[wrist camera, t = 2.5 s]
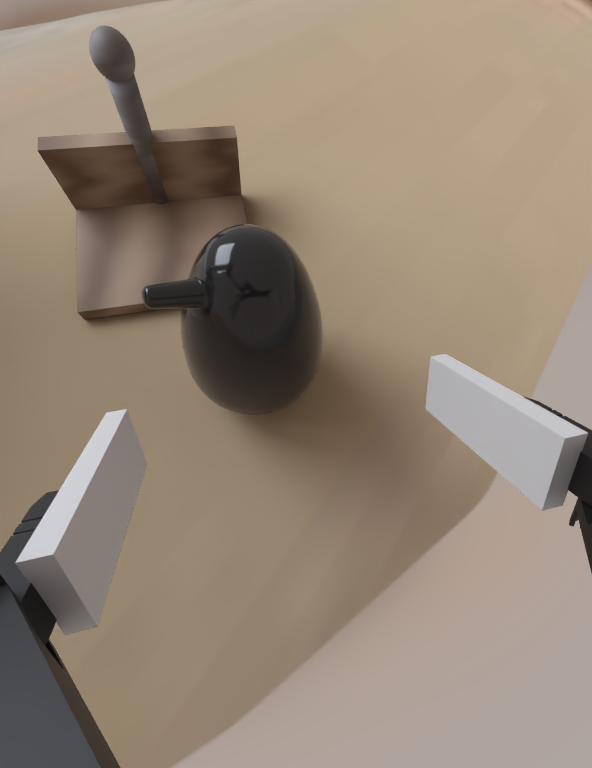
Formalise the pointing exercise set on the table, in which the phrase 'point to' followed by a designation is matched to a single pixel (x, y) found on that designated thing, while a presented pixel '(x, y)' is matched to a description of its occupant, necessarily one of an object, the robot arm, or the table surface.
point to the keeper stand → (141, 192)
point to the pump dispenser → (247, 320)
